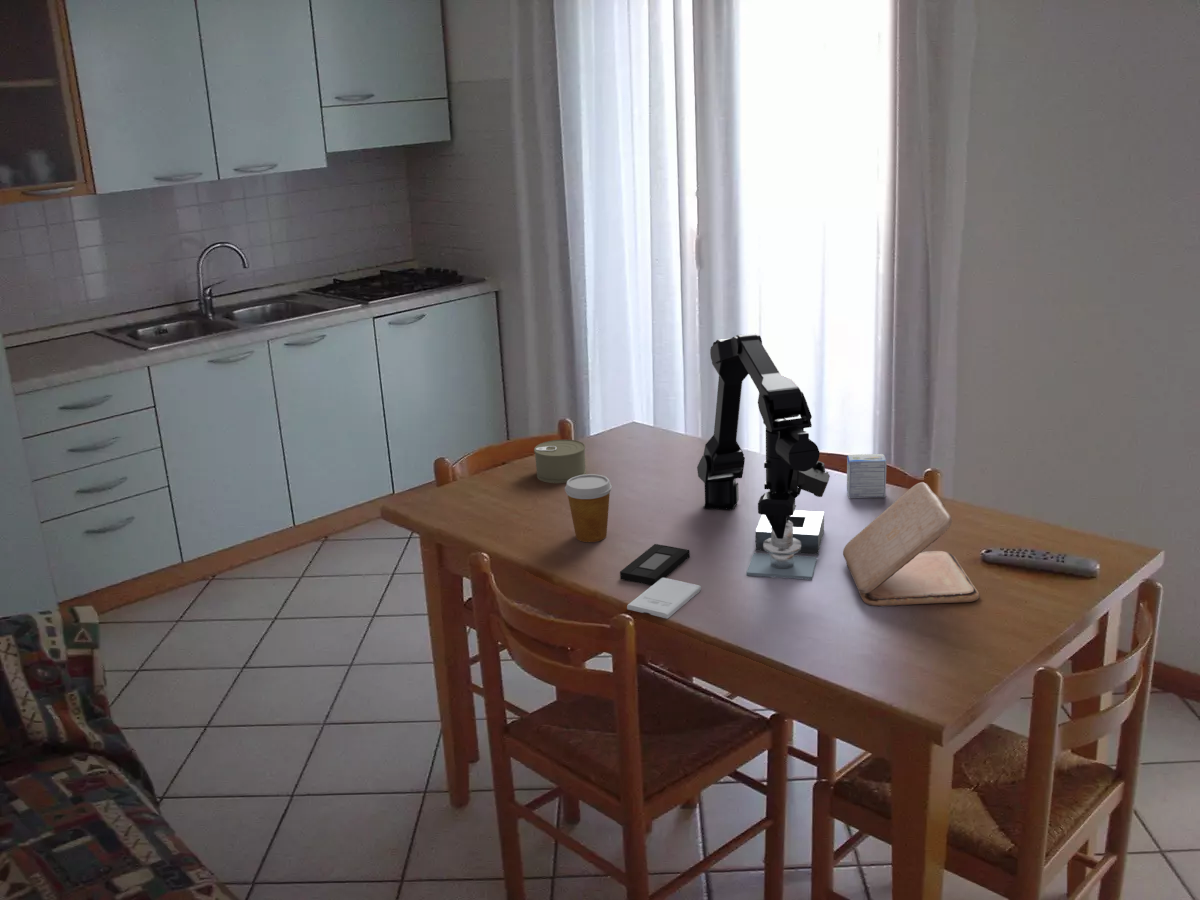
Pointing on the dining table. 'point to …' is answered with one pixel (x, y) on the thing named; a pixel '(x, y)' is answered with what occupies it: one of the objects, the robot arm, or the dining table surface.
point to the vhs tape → (654, 564)
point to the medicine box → (866, 476)
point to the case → (907, 555)
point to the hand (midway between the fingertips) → (781, 533)
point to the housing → (797, 530)
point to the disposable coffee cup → (589, 505)
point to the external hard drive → (664, 597)
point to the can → (559, 460)
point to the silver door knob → (782, 548)
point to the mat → (799, 571)
